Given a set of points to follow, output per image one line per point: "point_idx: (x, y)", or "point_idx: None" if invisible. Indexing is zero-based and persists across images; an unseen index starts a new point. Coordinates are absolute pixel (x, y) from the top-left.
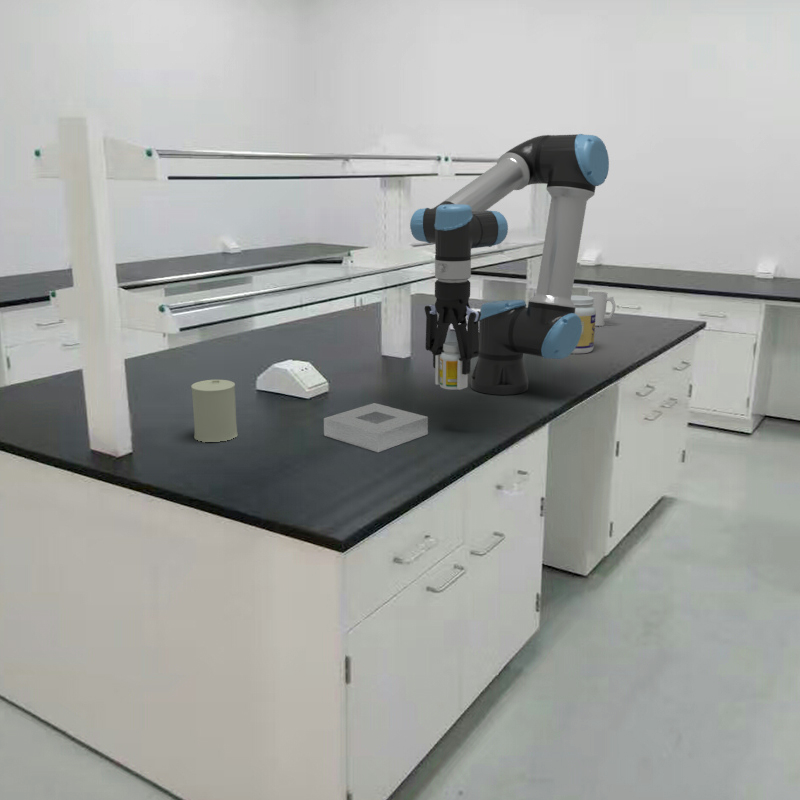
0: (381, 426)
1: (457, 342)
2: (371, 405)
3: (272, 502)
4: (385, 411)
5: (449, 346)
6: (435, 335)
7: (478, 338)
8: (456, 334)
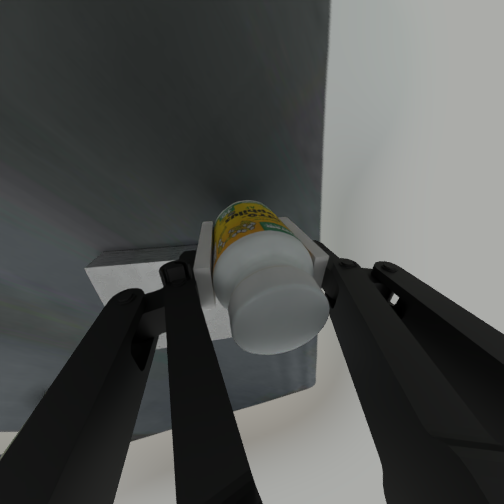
0: (212, 323)
1: (285, 290)
2: (100, 281)
3: (251, 395)
4: (151, 284)
5: (291, 348)
6: (120, 374)
7: (491, 330)
8: (368, 414)
